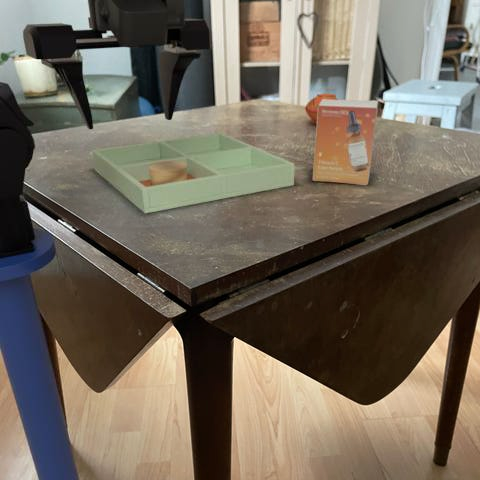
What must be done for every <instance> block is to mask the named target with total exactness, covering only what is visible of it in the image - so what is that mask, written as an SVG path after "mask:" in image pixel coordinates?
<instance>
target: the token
mask: <svg viewBox="0 0 480 480" xmlns="http://www.w3.org/2000/svg"><path fill="white" fill-rule="evenodd" d="M149 171H150V181H151V186H155V185H161V184H167V183H173V182H178V181H184V180H188V179H187V165H186V164H185V163H183V162H179V161H162V162H157V163H153V164H151V165H150V166H149Z"/></svg>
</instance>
